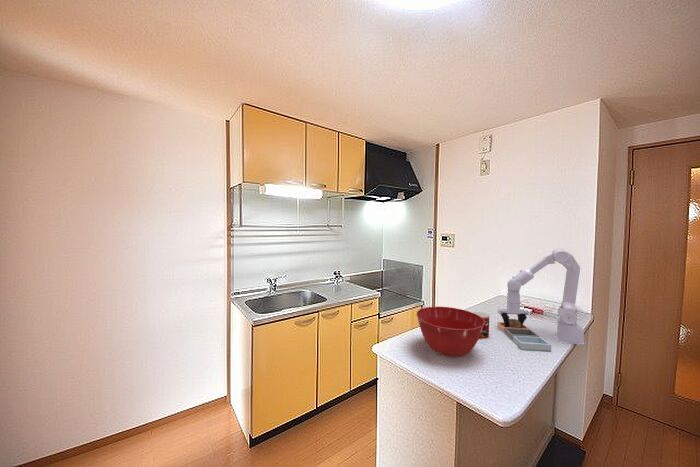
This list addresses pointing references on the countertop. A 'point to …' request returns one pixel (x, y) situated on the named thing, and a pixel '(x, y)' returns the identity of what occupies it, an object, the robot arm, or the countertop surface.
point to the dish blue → (532, 343)
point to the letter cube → (514, 323)
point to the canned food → (486, 326)
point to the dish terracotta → (502, 327)
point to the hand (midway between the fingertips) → (513, 327)
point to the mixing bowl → (450, 329)
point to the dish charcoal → (520, 333)
